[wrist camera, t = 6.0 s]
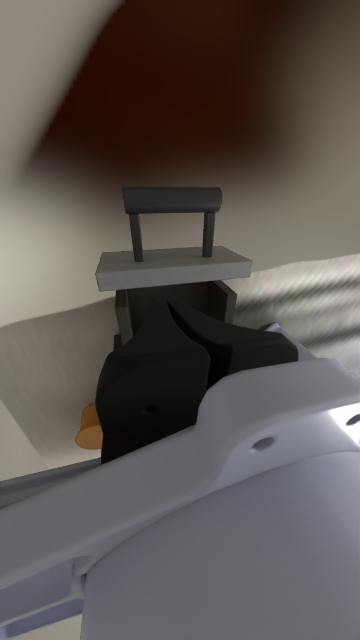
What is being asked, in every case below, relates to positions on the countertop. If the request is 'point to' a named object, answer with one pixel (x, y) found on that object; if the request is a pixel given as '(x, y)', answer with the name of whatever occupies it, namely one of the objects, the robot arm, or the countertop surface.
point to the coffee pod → (89, 430)
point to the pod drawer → (171, 261)
